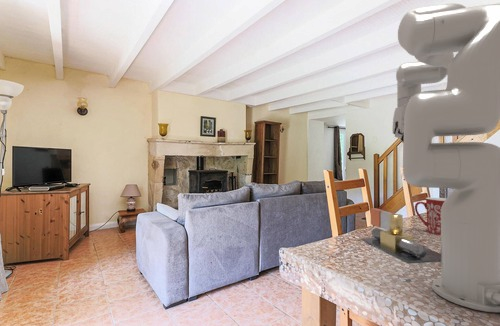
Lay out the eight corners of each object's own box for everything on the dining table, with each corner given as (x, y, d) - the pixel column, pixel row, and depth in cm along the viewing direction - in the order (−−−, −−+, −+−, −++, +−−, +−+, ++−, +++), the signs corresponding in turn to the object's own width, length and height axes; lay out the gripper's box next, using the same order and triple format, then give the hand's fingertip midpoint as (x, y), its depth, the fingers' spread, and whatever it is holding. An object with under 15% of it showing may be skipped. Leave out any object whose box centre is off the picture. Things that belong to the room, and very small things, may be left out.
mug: (453, 232, 104) (453, 198, 104) (453, 237, 97) (453, 201, 97) (416, 227, 112) (416, 196, 112) (413, 231, 105) (413, 198, 105)
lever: (405, 234, 82) (405, 215, 82) (394, 234, 81) (394, 215, 81) (377, 224, 95) (377, 208, 95) (368, 224, 95) (368, 208, 95)
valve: (452, 260, 74) (452, 242, 74) (407, 263, 72) (407, 244, 72) (396, 238, 95) (396, 224, 96) (361, 240, 93) (361, 225, 93)
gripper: (418, 106, 101) (418, 154, 101) (383, 105, 99) (383, 153, 99) (435, 102, 94) (435, 153, 94) (398, 100, 92) (398, 153, 92)
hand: (409, 153), depth 96 cm, fingers closed
